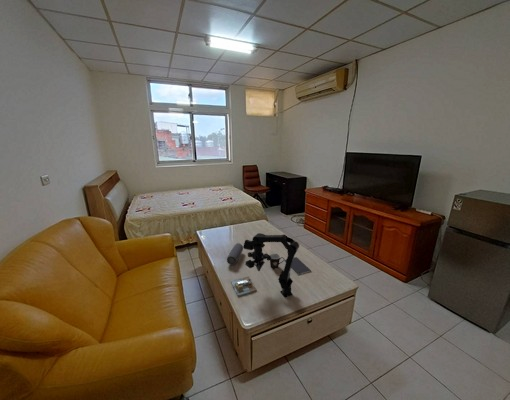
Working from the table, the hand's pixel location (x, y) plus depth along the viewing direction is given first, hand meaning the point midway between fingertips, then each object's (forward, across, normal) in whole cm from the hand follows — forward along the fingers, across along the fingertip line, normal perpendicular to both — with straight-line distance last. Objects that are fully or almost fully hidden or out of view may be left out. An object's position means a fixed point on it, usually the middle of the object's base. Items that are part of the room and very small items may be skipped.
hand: (258, 270), depth 154 cm
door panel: (+11, +11, -4) cm, 16 cm away
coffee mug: (+12, -24, -9) cm, 28 cm away
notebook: (+13, -40, -1) cm, 42 cm away
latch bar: (+10, +9, -4) cm, 14 cm away
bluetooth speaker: (+11, -3, -39) cm, 41 cm away
